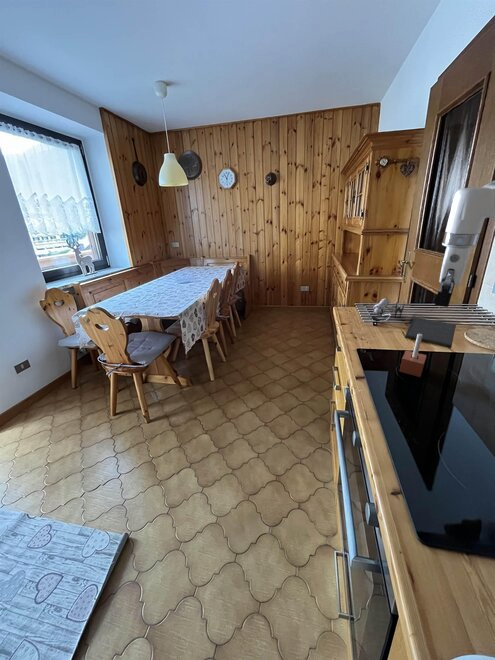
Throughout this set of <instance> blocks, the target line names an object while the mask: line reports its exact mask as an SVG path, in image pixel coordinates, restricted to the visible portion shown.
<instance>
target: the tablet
mask: <svg viewBox="0 0 495 660" xmlns="http://www.w3.org/2000/svg"><path fill="white" fill-rule="evenodd" d="M456 326H457V324H456V323H455V324H454V323H449V322H443V321H437V320H433V319H426V318H422V317H415V316H414V317H413V319H412V321H411V323H410V324H409V327H408V329H407V330H406V333H405V334H404V338H405V339H408V340H414V341H416V339H417V335H418V334H422V339H421V343H422V342H423V343H427V344H431V345H436V346H441V347H444V348H445V347H446V348H450V349H452V346H453V342H454V336H455V331H456Z"/></svg>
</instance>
